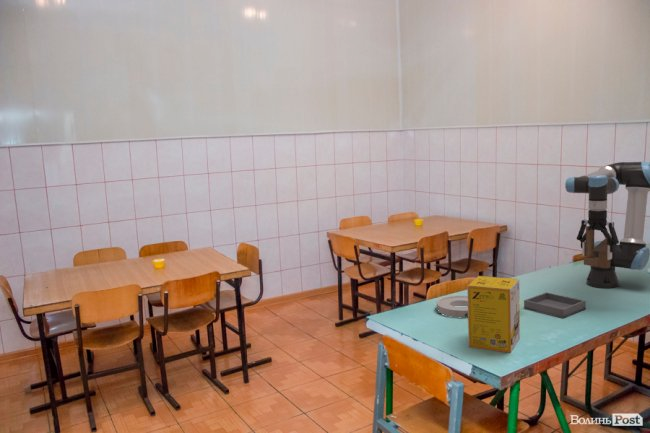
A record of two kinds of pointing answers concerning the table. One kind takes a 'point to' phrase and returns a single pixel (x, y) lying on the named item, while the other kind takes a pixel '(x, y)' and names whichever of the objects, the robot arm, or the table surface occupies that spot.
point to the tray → (555, 305)
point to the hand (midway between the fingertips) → (596, 257)
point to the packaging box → (493, 313)
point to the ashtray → (453, 306)
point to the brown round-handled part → (600, 248)
